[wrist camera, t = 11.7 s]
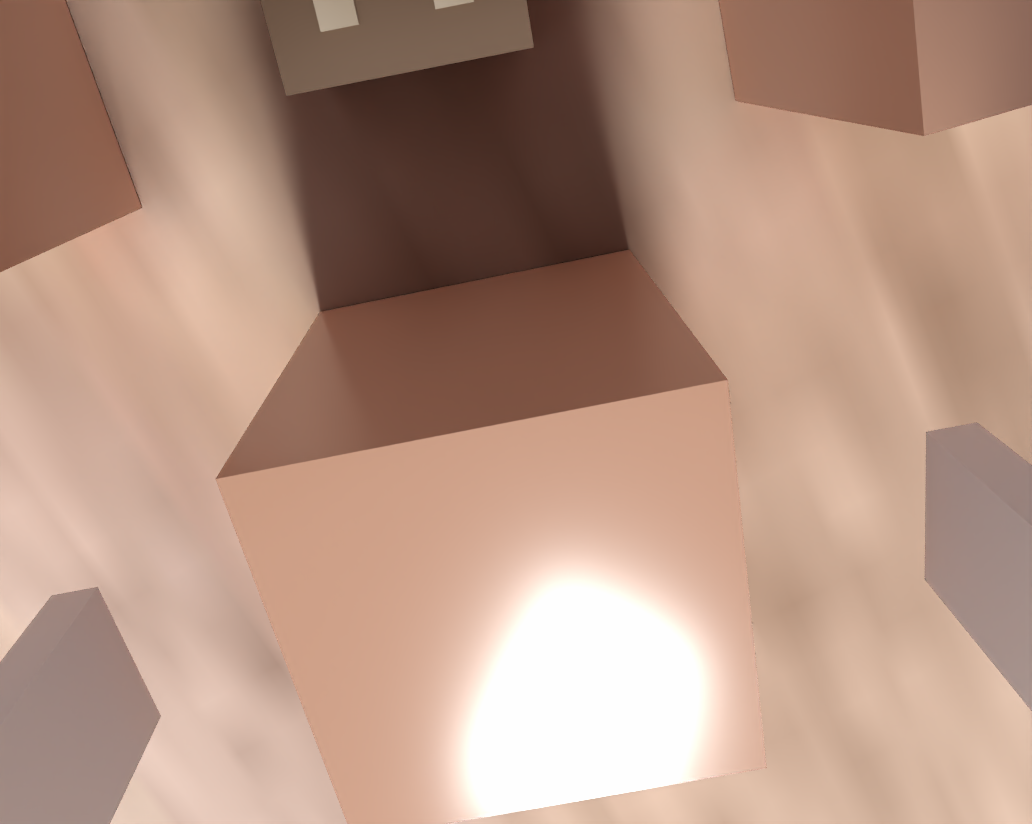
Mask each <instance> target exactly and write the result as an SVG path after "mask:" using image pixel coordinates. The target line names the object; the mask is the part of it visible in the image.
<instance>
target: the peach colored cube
mask: <svg viewBox="0 0 1032 824" xmlns="http://www.w3.org/2000/svg"><path fill="white" fill-rule="evenodd" d="M719 4H720V10H721V16H722V22H723V28H724V34H725V40H726V46H727V52H728V58H729V64H730V70H731V76H732V82H733V88H734V94H735V100H736V101H738V102H744V103H749V104H755V105H760V106H765V107H771V108H776V109H782V110H787V111H792V112H798V113H803V114H809V115H814V116H819V117H825V118H830V119H835V120H841V121H846V122H852V123H857V124H862V125H868V126H873V127H879V128H884V129H889V130H895V131H900V132H906V133H911V134H916V135H922V136H926V135H929V134H933V133H936V132H940V131H943V130H946V129H950V128H953V127H957V126H960V125H964V124H967V123H970V122H974V121H977V120H981V119H984V118H988V117H991V116H995V115H998V114H1001V113H1005V112H1008V111H1012V110H1015V109H1019V108H1022V107H1025V106H1029V105H1032V0H719Z"/></svg>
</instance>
